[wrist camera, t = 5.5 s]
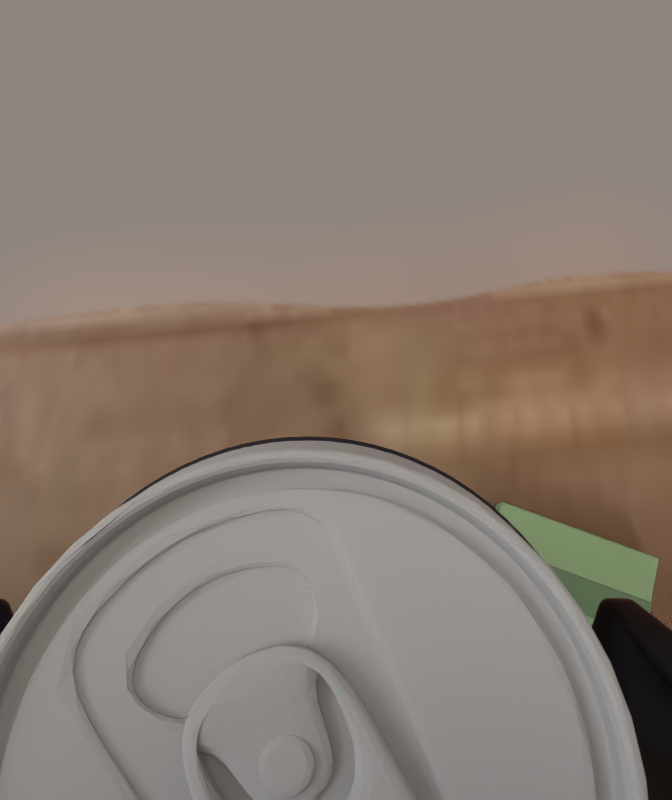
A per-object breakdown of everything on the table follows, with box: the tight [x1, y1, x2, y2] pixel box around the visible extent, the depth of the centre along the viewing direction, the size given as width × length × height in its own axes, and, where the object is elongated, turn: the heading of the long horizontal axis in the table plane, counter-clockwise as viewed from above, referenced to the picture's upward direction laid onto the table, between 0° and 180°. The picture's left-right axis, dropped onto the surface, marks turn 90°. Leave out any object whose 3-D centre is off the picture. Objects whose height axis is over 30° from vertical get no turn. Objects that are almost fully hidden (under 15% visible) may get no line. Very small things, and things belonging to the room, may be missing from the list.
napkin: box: [495, 502, 658, 627], centre depth 14 cm, size 4×13×1 cm, turn 160°
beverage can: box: [0, 437, 648, 800], centre depth 10 cm, size 6×6×12 cm
